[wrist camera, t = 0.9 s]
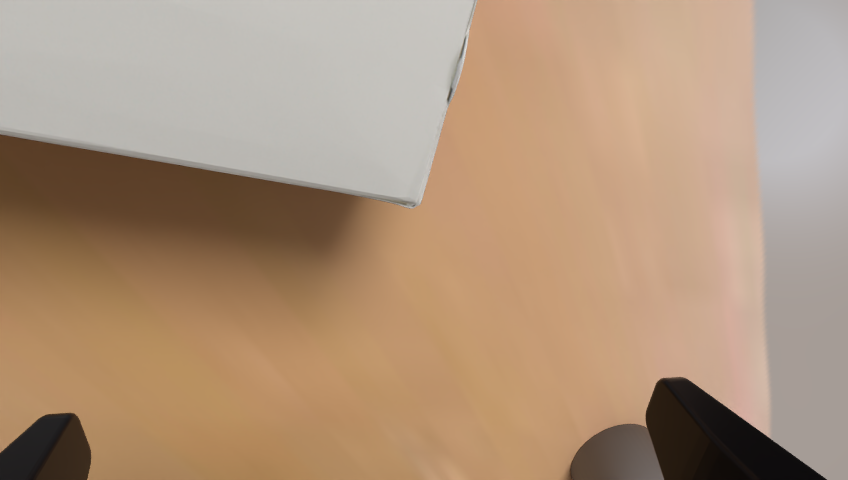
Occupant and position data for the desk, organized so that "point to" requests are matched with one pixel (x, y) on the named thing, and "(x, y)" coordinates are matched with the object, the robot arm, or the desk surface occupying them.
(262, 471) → the desk surface
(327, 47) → the skincare box
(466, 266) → the desk surface
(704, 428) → the robot arm
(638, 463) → the grey cylinder
